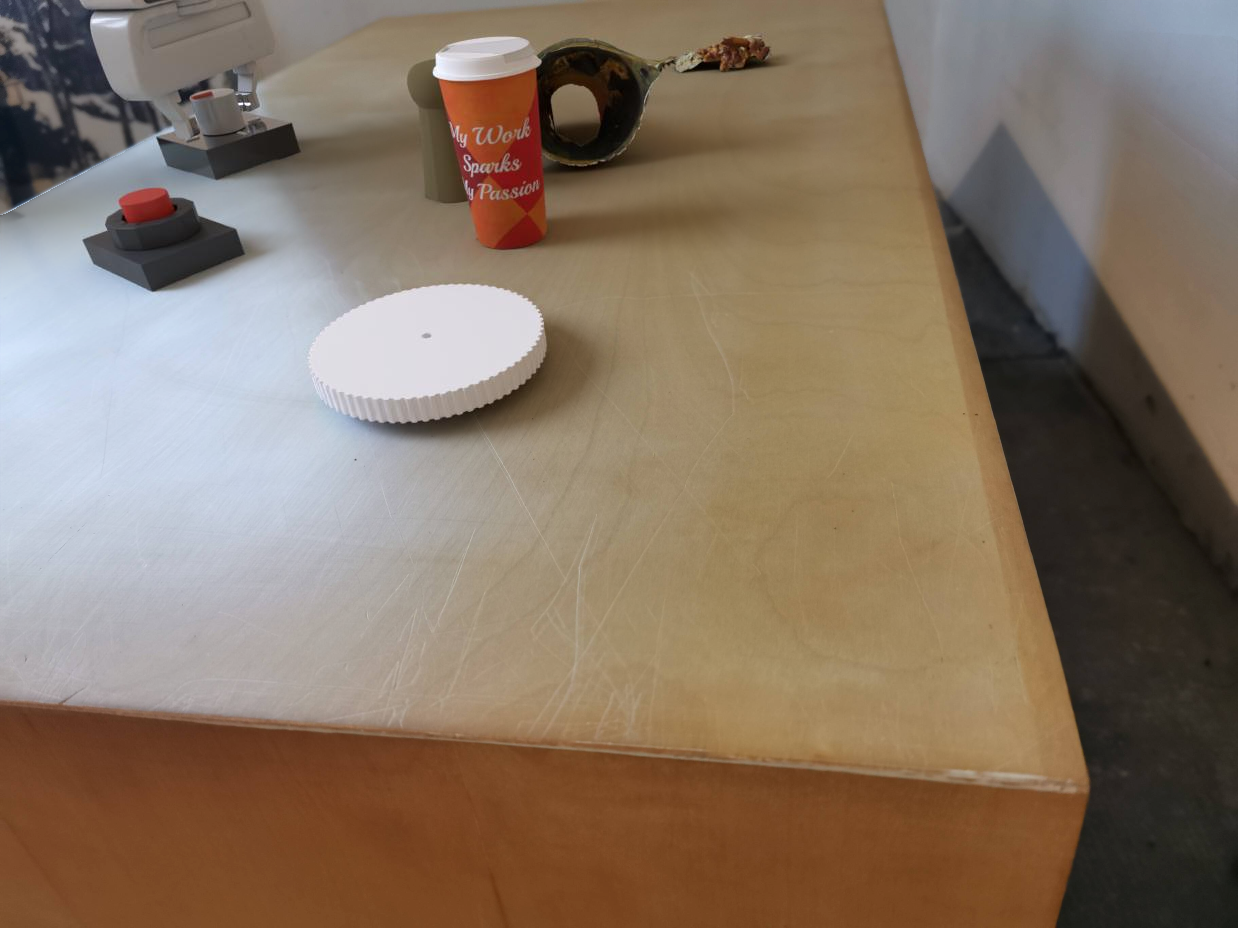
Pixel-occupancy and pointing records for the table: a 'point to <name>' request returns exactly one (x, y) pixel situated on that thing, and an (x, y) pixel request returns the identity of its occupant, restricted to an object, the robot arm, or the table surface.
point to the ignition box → (163, 246)
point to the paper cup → (496, 136)
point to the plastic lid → (427, 353)
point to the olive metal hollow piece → (595, 95)
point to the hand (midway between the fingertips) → (221, 123)
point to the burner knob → (217, 111)
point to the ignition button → (146, 205)
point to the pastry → (727, 53)
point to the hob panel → (230, 147)
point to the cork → (435, 137)
